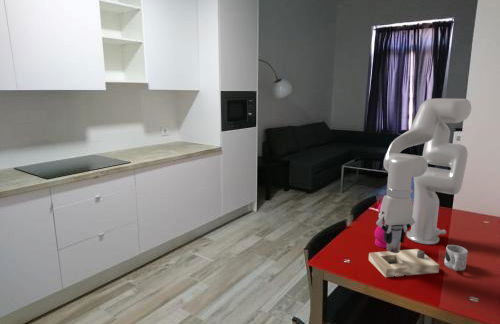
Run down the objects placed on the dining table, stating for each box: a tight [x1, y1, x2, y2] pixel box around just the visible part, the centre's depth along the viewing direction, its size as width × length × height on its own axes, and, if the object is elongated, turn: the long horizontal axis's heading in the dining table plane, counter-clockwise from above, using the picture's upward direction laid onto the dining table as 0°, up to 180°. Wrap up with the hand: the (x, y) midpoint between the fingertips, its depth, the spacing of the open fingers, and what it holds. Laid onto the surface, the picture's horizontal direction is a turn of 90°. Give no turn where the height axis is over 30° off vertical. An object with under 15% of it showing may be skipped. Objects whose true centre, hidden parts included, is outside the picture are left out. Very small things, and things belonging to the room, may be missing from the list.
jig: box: [368, 248, 440, 278], centre depth 119 cm, size 20×12×5 cm, turn 98°
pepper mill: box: [374, 202, 387, 249], centre depth 134 cm, size 7×7×20 cm
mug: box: [443, 244, 469, 272], centre depth 117 cm, size 10×7×7 cm, turn 150°
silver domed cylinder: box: [386, 225, 404, 253], centre depth 116 cm, size 5×5×10 cm
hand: (393, 241), depth 117 cm, fingers closed on silver domed cylinder, 4 cm apart
